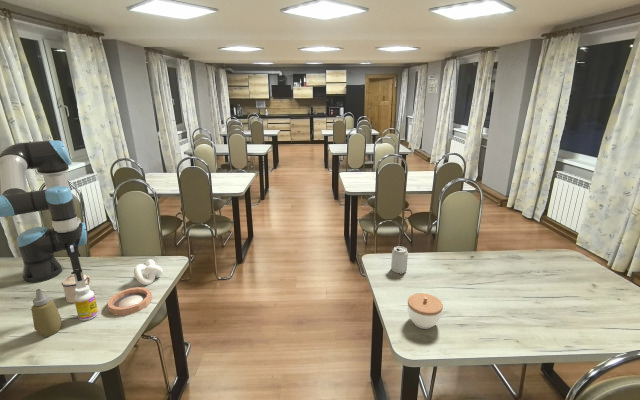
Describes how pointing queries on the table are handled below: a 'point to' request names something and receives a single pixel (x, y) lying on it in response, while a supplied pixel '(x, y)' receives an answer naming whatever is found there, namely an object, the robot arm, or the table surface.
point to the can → (399, 259)
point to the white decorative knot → (147, 272)
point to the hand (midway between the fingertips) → (80, 280)
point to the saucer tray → (130, 301)
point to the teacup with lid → (72, 287)
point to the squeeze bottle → (45, 315)
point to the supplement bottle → (85, 303)
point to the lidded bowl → (424, 310)
